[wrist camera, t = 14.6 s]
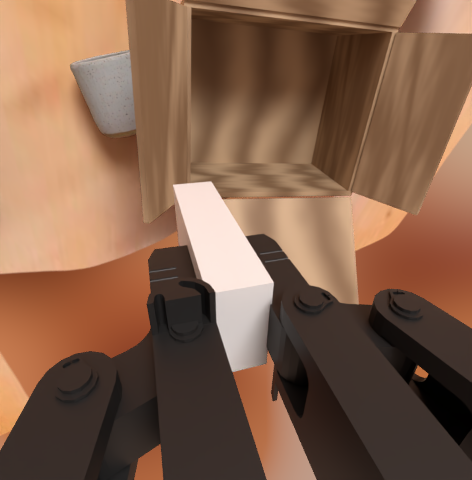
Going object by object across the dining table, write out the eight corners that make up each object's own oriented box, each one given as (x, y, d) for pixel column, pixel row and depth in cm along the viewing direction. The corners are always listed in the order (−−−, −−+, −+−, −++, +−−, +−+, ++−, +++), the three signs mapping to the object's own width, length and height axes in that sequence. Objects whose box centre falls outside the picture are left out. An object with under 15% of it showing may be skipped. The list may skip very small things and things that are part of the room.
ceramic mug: (105, 131, 41) (98, 147, 35) (76, 61, 36) (61, 63, 30) (184, 111, 42) (191, 122, 36) (165, 40, 37) (168, 38, 31)
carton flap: (188, 199, 35) (187, 200, 36) (195, 356, 34) (195, 354, 35) (351, 197, 39) (348, 198, 40) (360, 334, 39) (357, 333, 39)
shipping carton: (147, 164, 44) (143, 230, 28) (130, -93, 31) (106, -239, 15) (335, 166, 51) (418, 219, 35) (387, -45, 38) (557, -111, 22)
